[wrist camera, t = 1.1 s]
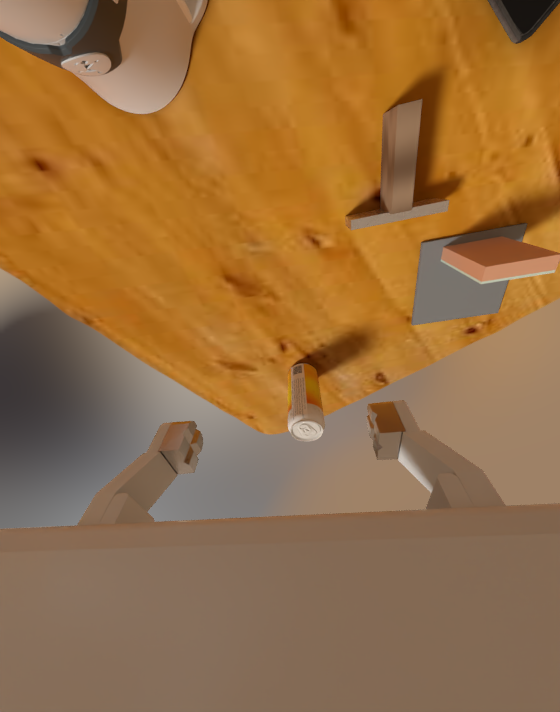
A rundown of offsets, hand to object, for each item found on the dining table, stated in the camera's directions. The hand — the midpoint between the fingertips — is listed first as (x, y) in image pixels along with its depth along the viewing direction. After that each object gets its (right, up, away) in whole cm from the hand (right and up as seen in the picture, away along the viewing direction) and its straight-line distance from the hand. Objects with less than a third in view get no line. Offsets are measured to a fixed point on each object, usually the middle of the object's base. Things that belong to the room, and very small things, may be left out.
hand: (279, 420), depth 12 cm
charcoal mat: (+29, +15, +29) cm, 44 cm away
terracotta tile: (+28, +19, +26) cm, 43 cm away
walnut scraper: (+14, +27, +21) cm, 38 cm away
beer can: (+5, 0, +42) cm, 42 cm away
